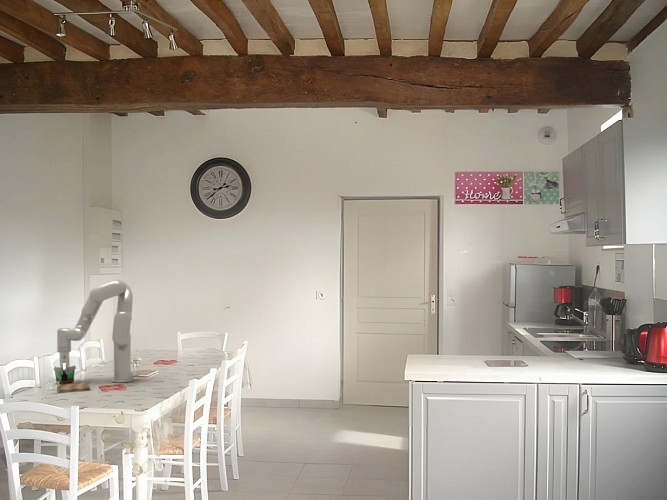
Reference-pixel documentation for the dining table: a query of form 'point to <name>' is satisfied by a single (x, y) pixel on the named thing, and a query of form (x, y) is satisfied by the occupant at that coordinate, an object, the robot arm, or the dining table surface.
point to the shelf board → (72, 387)
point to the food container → (69, 375)
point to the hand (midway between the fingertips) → (64, 379)
